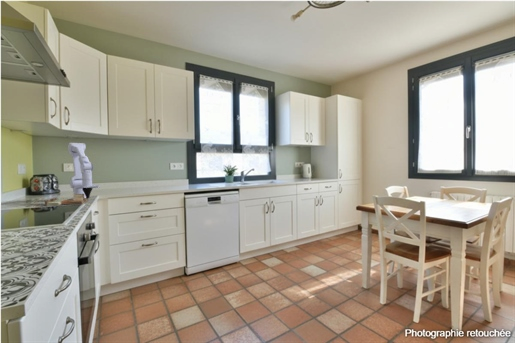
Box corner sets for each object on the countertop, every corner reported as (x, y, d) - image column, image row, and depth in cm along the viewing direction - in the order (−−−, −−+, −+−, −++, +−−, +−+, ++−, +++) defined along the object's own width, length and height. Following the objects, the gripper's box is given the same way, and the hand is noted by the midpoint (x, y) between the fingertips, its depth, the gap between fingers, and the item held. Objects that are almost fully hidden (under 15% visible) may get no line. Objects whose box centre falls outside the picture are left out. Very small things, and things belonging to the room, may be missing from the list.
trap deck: (55, 202, 168) (55, 197, 168) (88, 200, 176) (88, 195, 176) (45, 206, 154) (44, 201, 154) (81, 204, 161) (81, 199, 161)
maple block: (76, 199, 169) (75, 194, 168) (84, 199, 171) (84, 193, 170) (73, 200, 164) (73, 195, 164) (82, 200, 166) (82, 194, 166)
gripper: (72, 180, 162) (73, 199, 163) (97, 179, 168) (98, 198, 168) (76, 179, 169) (77, 198, 169) (99, 178, 174) (100, 196, 175)
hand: (87, 198), depth 169 cm, fingers closed
